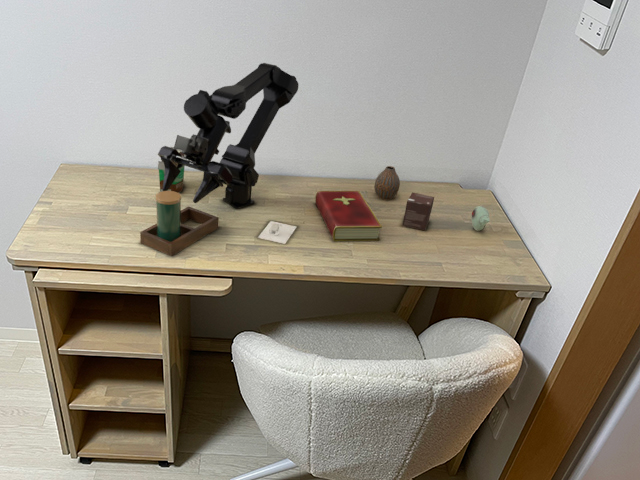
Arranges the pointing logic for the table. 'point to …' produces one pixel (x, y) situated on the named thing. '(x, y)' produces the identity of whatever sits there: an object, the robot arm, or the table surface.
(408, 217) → the box
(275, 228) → the adhesive hook
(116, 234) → the table surface
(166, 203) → the canister
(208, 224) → the rack
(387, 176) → the vase
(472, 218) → the pale green lumpy piece
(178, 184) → the food container
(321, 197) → the hardcover book
